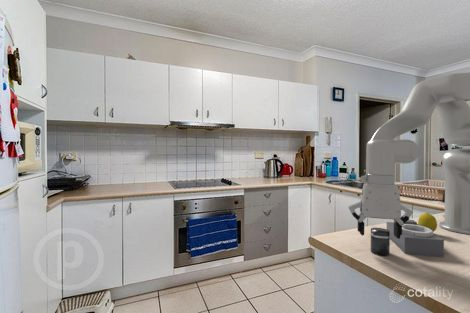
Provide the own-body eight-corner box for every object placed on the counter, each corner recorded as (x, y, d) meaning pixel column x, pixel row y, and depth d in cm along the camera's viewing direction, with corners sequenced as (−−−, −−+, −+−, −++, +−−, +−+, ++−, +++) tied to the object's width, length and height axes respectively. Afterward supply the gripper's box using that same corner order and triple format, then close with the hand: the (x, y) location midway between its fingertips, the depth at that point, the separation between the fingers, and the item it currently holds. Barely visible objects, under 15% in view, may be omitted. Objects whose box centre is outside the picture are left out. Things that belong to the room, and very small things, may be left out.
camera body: (386, 235, 88) (386, 217, 88) (418, 237, 86) (418, 219, 86) (404, 253, 73) (404, 232, 73) (443, 256, 70) (444, 235, 70)
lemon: (414, 231, 93) (415, 210, 92) (431, 231, 91) (431, 211, 91) (423, 236, 87) (423, 214, 87) (440, 237, 86) (440, 215, 86)
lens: (368, 248, 77) (368, 227, 77) (386, 250, 76) (386, 228, 75) (373, 255, 72) (373, 232, 72) (392, 257, 71) (392, 233, 71)
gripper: (351, 180, 72) (350, 236, 72) (418, 182, 67) (417, 243, 68) (346, 177, 79) (346, 229, 79) (407, 179, 75) (406, 234, 75)
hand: (378, 235), depth 74 cm, fingers open, 9 cm apart
